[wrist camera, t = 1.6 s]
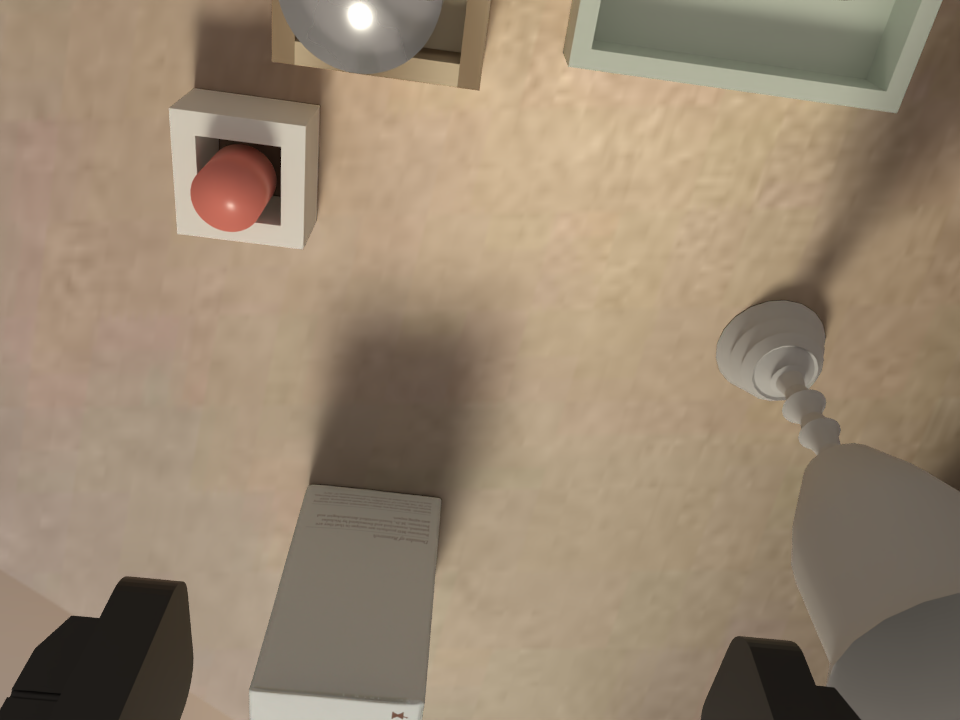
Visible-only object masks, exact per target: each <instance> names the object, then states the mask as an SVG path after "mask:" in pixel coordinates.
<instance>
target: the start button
mask: <svg viewBox="0 0 960 720" xmlns="http://www.w3.org/2000/svg"><path fill="white" fill-rule="evenodd" d="M276 183H277V179H276V173H275V170H274V167H273V165H272V164H271V162H270V161H269V159H268V158H267V157H266V156H265V155H264V154H263V153H262V152H260V151H259V150H257V149H256V148H253V147H251V146H248V145H244V144H232V145H228V146H225V147H223V148H222V149H220V150H219V151H218V152H217V153H216V154H215V155H214V156H213V157H212V158H211V159H210V160H209V162H208V163H207V164H206V165H205V166H204V167H203V168H202V169H201V170H200V171H199V172H198V174H197V175H196V176H195V178H194V179H193V181H192V184H191V189H190V196H191V201H192V204H193V207H194V209H195V211H196V212H197V214H198V215H199V216H200V217H201V218H202V219H203V220H204V221H205V222H206V223H207V224H209V225H210V226H212V227H214V228H216V229H218V230H222V231H226V232H238V231H242V230H245V229H247V228H249V227H250V226H252V225H253V224H254V223H255V222H256V221H257V219H258V218H259V216H260V215H261V213H262V212H263V210H264V208H265V207H266V205H267V204H268V202H269V201H270V199H271V197H272V196H273V194H274V192H275V189H276Z"/></svg>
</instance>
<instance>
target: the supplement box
mask: <svg viewBox="0 0 960 720" xmlns="http://www.w3.org/2000/svg"><path fill="white" fill-rule="evenodd" d="M440 510H441V499H440V498H435V497H427V496H419V495H410V494H400V493H392V492H382V491H374V490H366V489H355V488H347V487H336V486H327V485H309V486H308V487H307V490H306V493H305V496H304V500H303V503H302V507H301V510H300V514H299V517H298V520H297V524H296V527H295V531H294V535H293V538H292V542H291V545H290V549H289V552H288V556H287V559H286V563H285V566H284V570H283V573H282V577H281V581H280V584H279V588H278V592H277V595H276V599H275V602H274V606H273V609H272V613H271V616H270V620H269V623H268V627H267V630H266V634H265V637H264V641H263V644H262V648H261V651H260V655H259V658H258V662H257V665H256V669H255V672H254V676H253V679H252V682H251V685H250V688H249V717H250V720H422V716H423V710H424V704H425V693H426V681H427V669H428V657H429V645H430V632H431V620H432V608H433V596H434V584H435V571H436V560H437V549H438V537H439V524H440Z"/></svg>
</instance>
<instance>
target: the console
mask: <svg viewBox="0 0 960 720" xmlns="http://www.w3.org/2000/svg"><path fill="white" fill-rule="evenodd" d="M169 119H170V134H171V148H172V163H173V177H174V192H175V206H176V221H177V234H183V235H191V236H199V237H207V238H215V239H223V240H231V241H239V242H247V243H255V244H263V245H271V246H279V247H287V248H295V249H304V247H305V245H306V243H307V240H308V238H309V236H310V234H311V232H312V230H313V228H314V226H315V223H316V221H317V191H318V156H319V121H320V105H314V104H307V103H300V102H292V101H285V100H278V99H270V98H263V97H256V96H248V95H241V94H234V93H226V92H219V91H211V90H204V89H197V88H193V89H192V90H191V91H190V92H188V93H187V94H186V95H185V96H183V97H182V98H181V99H180V100H178V101H177V102H176V103H174V104H173V105H172V106H171V107H169ZM219 139H225V140H232V141H240V142H248V143H255V144H263V145H270V146H278V147H281V197H279V196H272V197H271V199H270V201H269V202H268V204H267V205H266V207H265V208H264V210H263V212H262V213H261V215H260V216H259V218H258V219H257V221H256V222H255V223H254V224H253V225H252V226H250V227H249V228H247V229H245V230H242V231H238V232H226V231H222V230H218V229H216V228H214V227H212V226H210V225H209V224H207V223H206V222H205V221H204V220H203V219H202V218H201V217H200V216H199V215H198V214H197V212H196V211H195V209H194V207H193V204H192V201H191V196H190V189H191V184H192V181H193V179H194V178H195V176H196V175H197V174H198V172H199V171H200V170H201V169H202V168H203V167H204V166H205V165H206V164H207V163H208V162H209V160H210V159H211V158H212V157H213V156H214V155H215V154H216V153H217V152H218V151H219Z"/></svg>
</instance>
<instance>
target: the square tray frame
mask: <svg viewBox="0 0 960 720" xmlns="http://www.w3.org/2000/svg"><path fill="white" fill-rule="evenodd" d="M941 3H942V0H845V1H844V0H572V5H571V10H570V16H569V22H568V27H567V33H566V38H565V44H564V50H563V54H564V56H565V59H566V62H567V64H568V67H574V68H581V69H588V70H595V71H602V72H609V73H616V74H623V75H630V76H637V77H644V78H651V79H659V80H666V81H673V82H680V83H687V84H694V85H701V86H708V87H715V88H722V89H729V90H736V91H743V92H750V93H757V94H764V95H771V96H778V97H785V98H793V99H800V100H807V101H814V102H821V103H828V104H835V105H842V106H849V107H856V108H863V109H870V110H877V111H884V112H891V113H897V112H898V110H899V107H900V105H901V102H902V100H903V97H904V95H905V92H906V90H907V87H908V85H909V83H910V80H911V78H912V75H913V73H914V70H915V68H916V65H917V63H918V60H919V58H920V55H921V53H922V50H923V48H924V45H925V43H926V40H927V38H928V35H929V33H930V30H931V28H932V25H933V23H934V20H935V18H936V15H937V13H938V10H939V8H940V5H941Z"/></svg>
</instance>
